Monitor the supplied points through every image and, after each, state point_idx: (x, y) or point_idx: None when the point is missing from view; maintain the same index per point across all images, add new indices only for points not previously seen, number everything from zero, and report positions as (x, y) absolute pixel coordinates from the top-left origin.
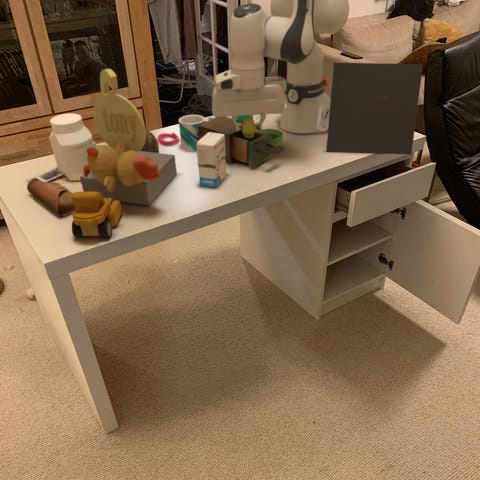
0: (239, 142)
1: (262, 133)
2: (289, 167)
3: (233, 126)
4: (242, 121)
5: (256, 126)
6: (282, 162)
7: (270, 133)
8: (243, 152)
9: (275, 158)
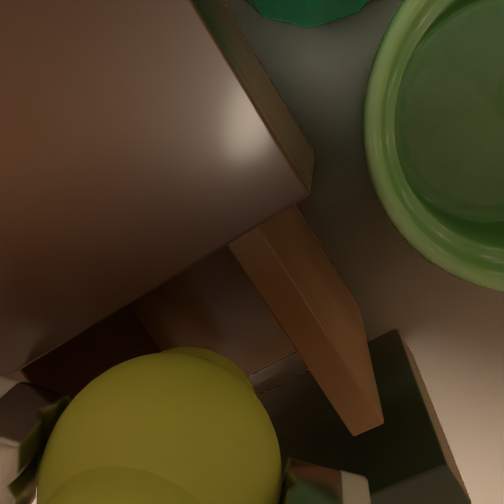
0: None
1: (375, 426)
2: (475, 497)
3: (5, 189)
4: (190, 17)
5: (285, 492)
6: (469, 414)
7: (464, 493)
8: None
9: (453, 334)
